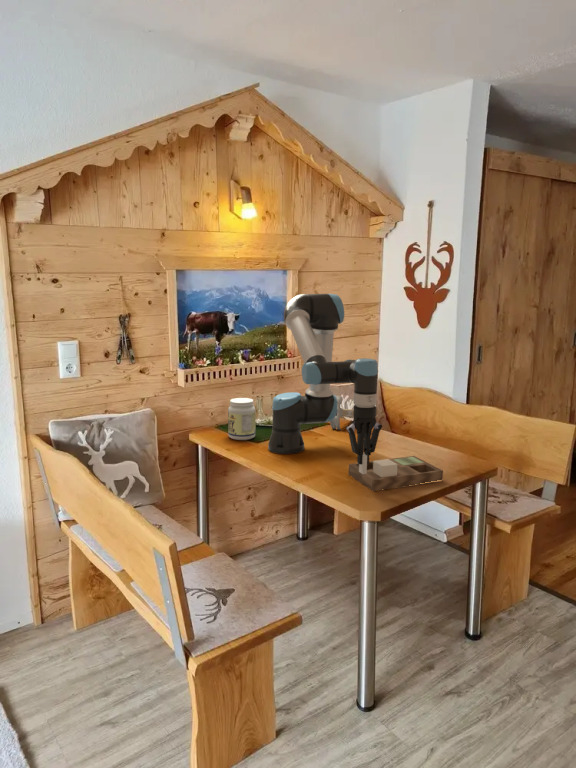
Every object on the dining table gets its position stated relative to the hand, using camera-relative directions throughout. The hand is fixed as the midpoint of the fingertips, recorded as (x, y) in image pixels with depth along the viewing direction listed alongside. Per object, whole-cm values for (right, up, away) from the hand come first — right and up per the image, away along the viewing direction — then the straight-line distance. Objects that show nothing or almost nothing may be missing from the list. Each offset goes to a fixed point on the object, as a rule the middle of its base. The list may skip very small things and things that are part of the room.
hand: (362, 472), depth 194 cm
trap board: (+13, -4, +11) cm, 17 cm away
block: (+8, -1, +3) cm, 9 cm away
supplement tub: (-46, +6, +62) cm, 77 cm away
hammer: (+3, +10, +86) cm, 86 cm away
